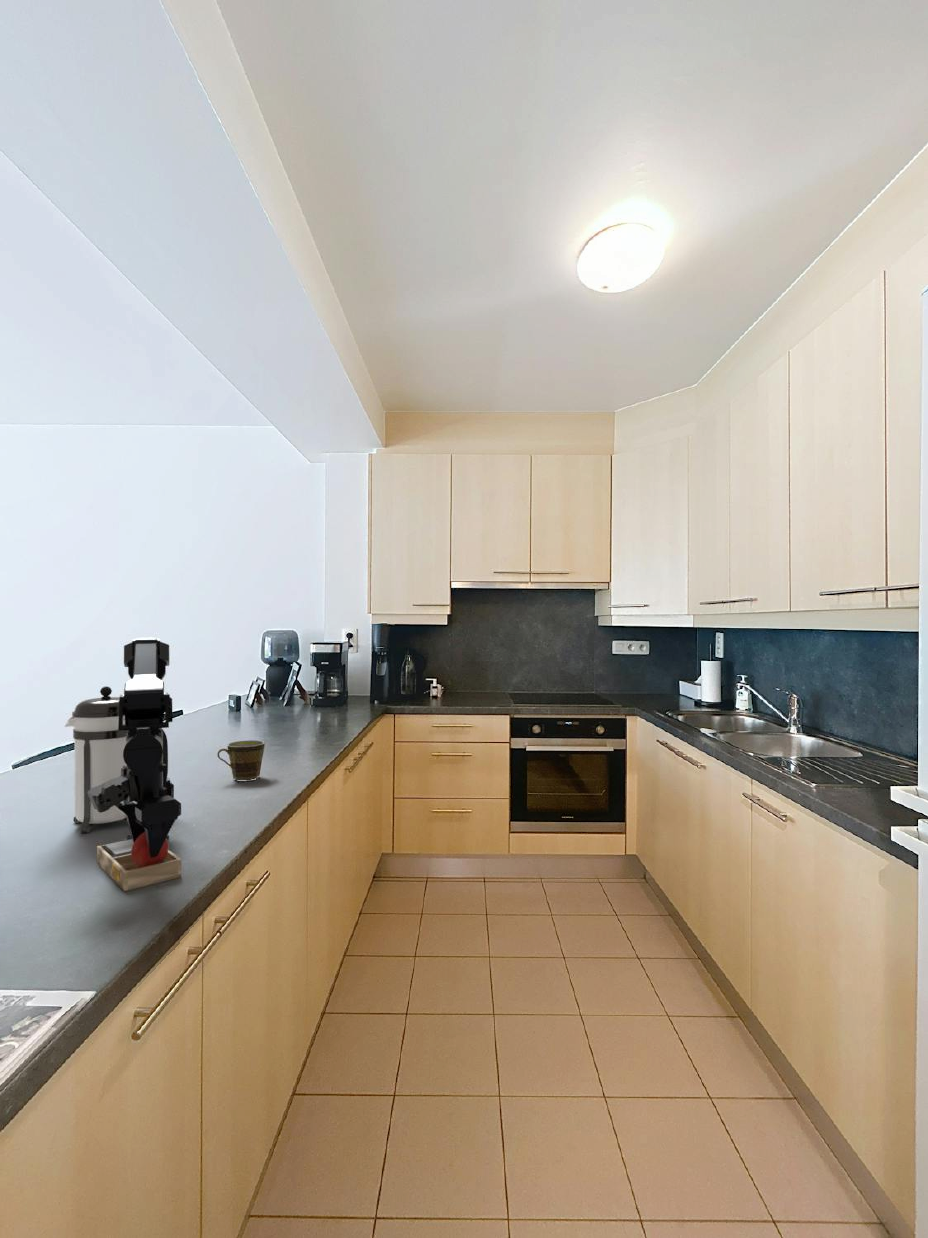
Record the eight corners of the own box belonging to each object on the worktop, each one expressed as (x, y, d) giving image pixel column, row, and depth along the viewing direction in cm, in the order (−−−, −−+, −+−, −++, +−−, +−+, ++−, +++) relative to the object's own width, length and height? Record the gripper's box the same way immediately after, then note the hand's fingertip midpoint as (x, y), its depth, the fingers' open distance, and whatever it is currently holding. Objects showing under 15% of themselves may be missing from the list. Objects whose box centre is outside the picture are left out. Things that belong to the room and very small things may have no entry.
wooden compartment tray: (95, 863, 120) (95, 845, 120) (149, 851, 126) (149, 833, 126) (123, 891, 107) (123, 871, 107) (181, 876, 113) (181, 857, 113)
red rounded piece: (123, 867, 114) (133, 820, 115) (157, 866, 117) (167, 820, 118) (132, 877, 109) (142, 828, 110) (167, 875, 113) (177, 828, 114)
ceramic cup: (256, 773, 191) (256, 739, 191) (270, 779, 184) (270, 743, 184) (211, 780, 183) (211, 744, 183) (224, 787, 175) (224, 749, 175)
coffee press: (116, 836, 135) (115, 690, 135) (49, 832, 138) (49, 689, 138) (170, 812, 152) (169, 682, 152) (109, 809, 155) (109, 682, 155)
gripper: (79, 758, 115) (79, 847, 115) (107, 776, 101) (108, 878, 101) (146, 749, 122) (147, 833, 122) (182, 765, 109) (182, 860, 109)
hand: (145, 850), depth 113 cm, fingers open, 9 cm apart
